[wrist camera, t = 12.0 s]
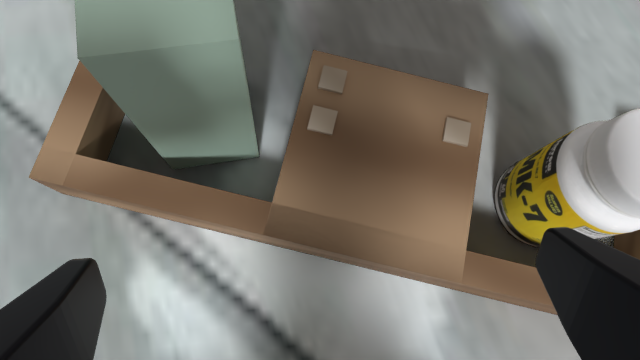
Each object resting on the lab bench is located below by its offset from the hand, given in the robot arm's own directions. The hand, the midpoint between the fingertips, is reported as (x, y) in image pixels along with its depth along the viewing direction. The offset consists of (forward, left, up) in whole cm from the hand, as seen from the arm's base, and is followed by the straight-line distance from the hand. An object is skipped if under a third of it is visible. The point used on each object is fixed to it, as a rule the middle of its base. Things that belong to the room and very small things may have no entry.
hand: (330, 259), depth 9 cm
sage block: (+2, +10, -14) cm, 17 cm away
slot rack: (+7, +2, -14) cm, 15 cm away
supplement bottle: (+12, -6, -14) cm, 19 cm away
